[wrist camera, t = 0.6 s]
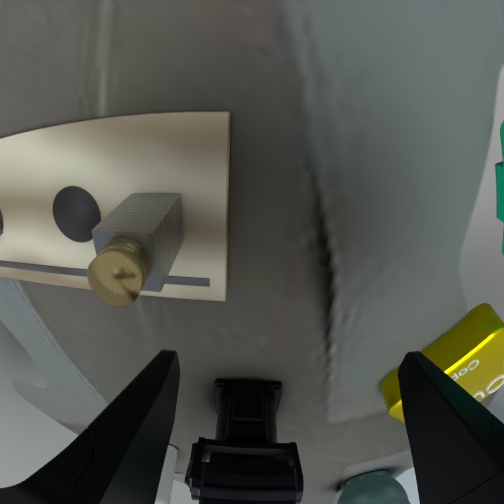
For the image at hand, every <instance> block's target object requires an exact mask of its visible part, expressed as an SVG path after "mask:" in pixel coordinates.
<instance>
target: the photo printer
mask: <svg viewBox="0 0 504 504" xmlns="http://www.w3.org/2000/svg"><path fill="white" fill-rule="evenodd" d="M176 460H177V449H175V447H173V446H171V445H168V449H167V453H166V457H165V461H164V465H163V470H162V474H161V478H160V483H159V487H158V491H157V496H156V500H155V504H169V503H170V498H171V492H172V485H173V479H174V473H175V466H176Z"/></svg>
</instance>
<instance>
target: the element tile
mask: <svg viewBox="0 0 504 504" xmlns="http://www.w3.org/2000/svg"><path fill="white" fill-rule="evenodd" d="M421 353H422V354H424V355H425V356H426V357H427V358H428V359H430V360H431V361H432V362H433V363H434V364H435V365H437V366H438V367H439V368H440V369H441V370H443V371H444V372H445V373H446V374H447V375H448V376H450V377H451V378H452V379H453V380H454V381H455V382H457V383H458V384H459V385H460V386H461V387H462V388H464V389H465V390H466V391H467V392H468V393H469V394H470V395H472V396H473V397H474V398H475V399H476V400H477V401H478V402H480V401H481V400H483V399H484V398H485V397H487V396H488V395H489V394H491V393H493V392H494V391H496V390H497V389H498V388H499V387H501V386H502V385H503V383H504V322H503V321H502V320H501V318H500V317H499V316H498V314H497V313H496V312H495V311H494V309H493V308H492V307H491V305H489V304H487V303H482V304H480V305H477V306H476V307H474V308H473V309H471V310H470V311H469V312H468V315H467V316H466V317H464V318H463V319H462V320H461V321H460V322H459V323H457V324H456V325H455V326H454V327H452V328H451V329H450V330H449V331H447V332H446V333H445V334H444V335H442V336H441V337H440V338H438V339H437V340H436V341H435V342H433V343H432V344H431V345H429V346H428V347H426V348H425V349H424V350H422V351H421ZM399 367H400V366H399ZM399 367H398V368H396V369H395V370H393V371H392V372H390V373H389V374H387V375H386V376H385V377H384V378H383V379H382V380H381V382H380V388H381V391H382V394H383V397H384V401H385V404H386V407H387V410H388V413H389V415H390V416H392V417H393V418H395V419H397V420H399V421H401V422H403V423H404V424H405V421H404V416H403V410H402V402H401V395H400V388H399V381H398V369H399Z"/></svg>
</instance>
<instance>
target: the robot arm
mask: <svg viewBox="0 0 504 504" xmlns="http://www.w3.org/2000/svg"><path fill="white" fill-rule="evenodd" d="M179 380H180V366H179V360H178V355H177V352H176V351H174V350H166V349H163V350H161V351H160V352H159V353H158V354H157V355H156V356H155V357H154V358H153V359H152V361H151V362H150V363H149V364H148V365H147V366H146V367H145V368H144V369H143V370H142V371H141V372H140V373H139V374H138V375H137V376H136V377H135V378H134V379H133V380H132V381H131V382H130V383H129V384H128V385H127V386H126V387H125V388H124V390H123V391H122V392H121V393H120V394H119V395H118V396H117V397H116V398H115V399H114V400H113V401H112V402H111V403H110V404H109V405H108V406H107V407H106V408H105V409H104V410H103V411H102V412H101V413H100V414H99V415H98V416H97V417H96V418H95V419H94V420H93V422H92V423H91V424H90V425H89V426H88V429H87V428H86V429H85V430H84V431H83V432H82V433H81V434H80V435H79V436H78V437H77V438H76V439H75V440H74V441H73V442H72V443H71V444H70V445H69V446H68V447H66V448H65V449H64V450H63V451H62V452H60V453H59V454H58V455H57V456H56V457H54V458H53V459H52V460H51V461H49V462H48V463H47V464H46V465H44V466H43V467H42V468H40V469H39V470H38V471H37V472H35V473H34V474H33V475H31V476H30V477H29V478H27V479H26V480H25V481H22V482H21V483H19V484H16V485H14V486H10V487H6V488H0V504H155V500H156V496H157V491H158V487H159V483H160V478H161V474H162V470H163V465H164V461H165V457H166V453H167V449H168V445H169V440H170V436H171V432H172V428H173V424H174V419H175V412H176V403H177V395H178V387H179ZM398 381H399V388H400V395H401V402H402V410H403V416H404V421H405V425H406V429H407V434H408V438H409V443H410V448H411V453H412V458H413V463H414V469H415V475H416V480H417V486H418V493H419V500H420V504H504V424H503V423H502V422H501V421H500V420H499V419H498V418H497V417H495V416H494V415H493V414H491V412H490V411H489V410H487V409H486V408H485V407H484V406H483V405H482V404H481V403H480V402H478V401H477V400H476V399H475V398H474V397H473V396H472V395H470V394H469V393H468V392H467V391H466V390H465V389H464V388H462V387H461V386H460V385H459V384H458V383H457V382H455V381H454V380H453V379H452V378H451V377H450V376H448V375H447V374H446V373H445V372H444V371H443V370H441V369H440V368H439V367H438V366H437V365H435V364H434V363H433V362H432V361H431V360H430V359H428V358H427V357H426V356H425V355H424V354H422V353H421V352H419V351H413V352H408V353H407V354H406V356H405V357H404V359H403V361H402V363H401V365H400V367H399V369H398ZM214 391H215V403H216V413H217V414H218V417H217V427H216V437H215V440H214V439H205V438H204V437H199V441H198V442H197V443H193V444H192V451H191V457H190V462H189V465H188V469H187V472H186V476H185V483H186V485H187V486H188V487H189V488H190V492H191V497H192V500H199V504H299V503H300V502H301V499H302V495H303V474H302V469H301V464H300V459H299V455H298V450H297V445H296V442H290V443H277V428H276V414H277V410H278V406H279V401H280V397H281V393H282V383H280V382H254V381H233V380H215V382H214ZM206 460H208V461H210V462H206Z"/></svg>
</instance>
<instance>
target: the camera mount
mask: <svg viewBox="0 0 504 504" xmlns="http://www.w3.org/2000/svg"><path fill="white" fill-rule="evenodd" d="M500 137H501V145H502V155H503V161H502V162H499V163H496V164H495V174H496V201H497V203H496V207H497V209H496V214H497V215H496V217H497V218H498V219H500V220H501V221H502V222H504V121H503V123H502V125H501V128H500ZM502 253H503V255H504V232H503V247H502Z"/></svg>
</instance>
